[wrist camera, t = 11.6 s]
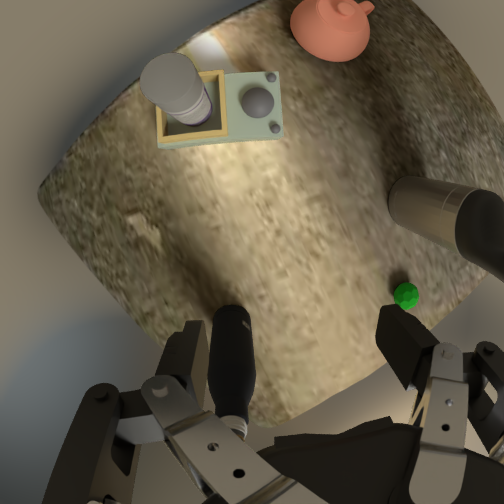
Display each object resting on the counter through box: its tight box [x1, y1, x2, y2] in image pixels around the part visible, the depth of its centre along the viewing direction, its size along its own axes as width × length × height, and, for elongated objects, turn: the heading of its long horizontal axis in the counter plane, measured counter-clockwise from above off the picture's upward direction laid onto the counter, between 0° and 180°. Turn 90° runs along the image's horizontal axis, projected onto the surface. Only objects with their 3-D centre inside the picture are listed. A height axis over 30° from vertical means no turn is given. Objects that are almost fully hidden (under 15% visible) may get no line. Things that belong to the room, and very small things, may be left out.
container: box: [140, 53, 213, 127], centre depth 25 cm, size 5×5×15 cm
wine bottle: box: [207, 305, 256, 442], centre depth 34 cm, size 6×6×30 cm
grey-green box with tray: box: [155, 70, 284, 150], centre depth 33 cm, size 16×9×9 cm, turn 94°
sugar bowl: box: [290, 0, 374, 62], centre depth 29 cm, size 12×14×10 cm
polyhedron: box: [394, 282, 419, 310], centre depth 46 cm, size 5×5×5 cm
